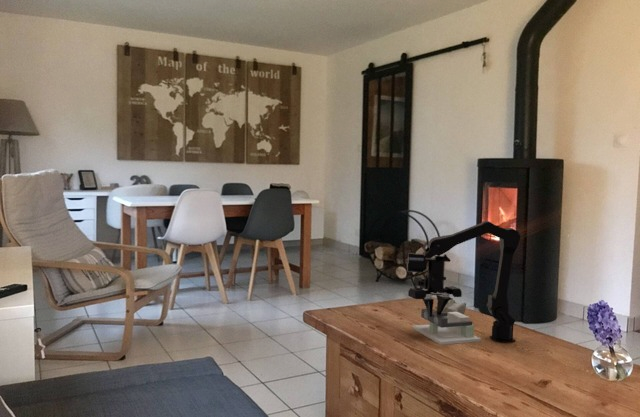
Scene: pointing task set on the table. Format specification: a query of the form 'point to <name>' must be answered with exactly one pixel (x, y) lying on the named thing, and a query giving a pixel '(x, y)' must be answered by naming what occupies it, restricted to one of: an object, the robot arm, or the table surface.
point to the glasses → (442, 319)
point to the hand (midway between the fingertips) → (434, 316)
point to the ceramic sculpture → (453, 307)
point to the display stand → (449, 331)
